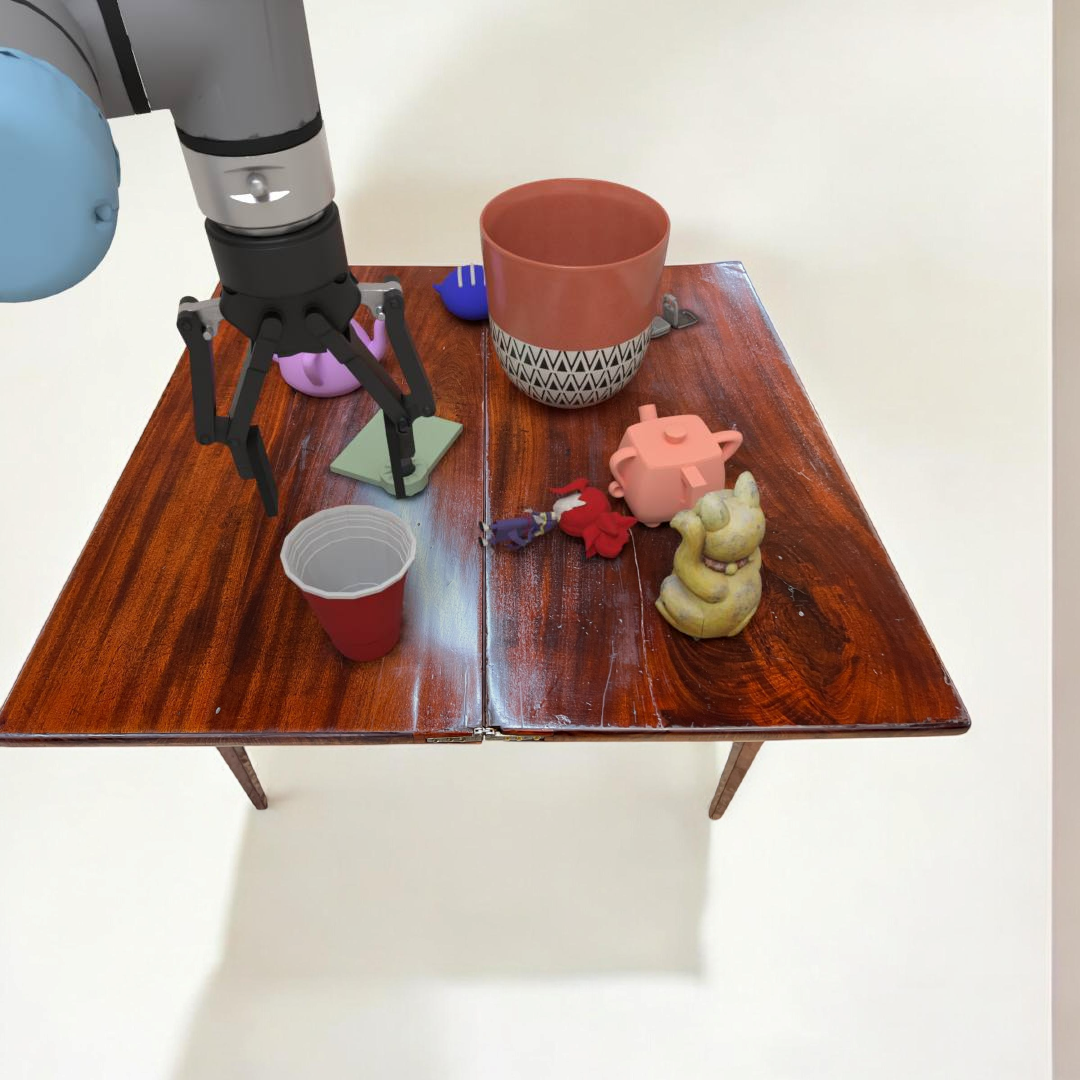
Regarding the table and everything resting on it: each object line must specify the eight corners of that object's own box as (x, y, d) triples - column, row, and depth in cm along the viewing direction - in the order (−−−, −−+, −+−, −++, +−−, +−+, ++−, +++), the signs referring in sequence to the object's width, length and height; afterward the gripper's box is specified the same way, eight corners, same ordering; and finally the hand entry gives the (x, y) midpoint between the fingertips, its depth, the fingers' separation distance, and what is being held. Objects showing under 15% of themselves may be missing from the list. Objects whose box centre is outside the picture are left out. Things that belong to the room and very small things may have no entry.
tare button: (407, 479, 88) (405, 468, 87) (390, 474, 89) (388, 463, 88) (416, 467, 90) (415, 456, 89) (400, 462, 90) (398, 451, 89)
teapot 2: (638, 449, 95) (645, 377, 88) (737, 488, 91) (753, 416, 84) (585, 511, 88) (589, 438, 81) (690, 556, 84) (704, 483, 77)
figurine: (471, 525, 86) (610, 496, 89) (493, 597, 82) (638, 564, 85) (472, 489, 80) (620, 459, 84) (495, 564, 76) (650, 530, 80)
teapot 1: (403, 376, 104) (394, 312, 98) (301, 421, 98) (285, 356, 92) (352, 333, 111) (341, 271, 104) (254, 373, 105) (236, 309, 98)
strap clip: (648, 341, 110) (651, 312, 107) (634, 329, 112) (637, 300, 109) (700, 322, 113) (705, 293, 110) (686, 311, 115) (690, 282, 112)
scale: (414, 507, 89) (412, 489, 87) (324, 478, 92) (320, 461, 90) (471, 432, 97) (470, 415, 95) (386, 408, 100) (384, 391, 98)
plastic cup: (453, 620, 79) (443, 529, 70) (377, 705, 72) (355, 617, 64) (362, 572, 82) (342, 481, 74) (283, 649, 76) (250, 559, 67)
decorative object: (438, 242, 114) (512, 255, 114) (436, 281, 118) (508, 293, 118) (424, 286, 107) (504, 300, 107) (423, 325, 111) (499, 338, 112)
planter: (526, 460, 94) (525, 284, 78) (463, 365, 106) (452, 196, 90) (680, 416, 99) (707, 243, 84) (603, 330, 111) (615, 165, 96)
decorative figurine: (708, 563, 83) (734, 446, 73) (777, 612, 79) (815, 495, 68) (641, 616, 79) (658, 499, 68) (710, 671, 75) (740, 555, 64)
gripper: (56, 258, 44) (186, 552, 61) (468, 220, 47) (485, 509, 64) (79, 194, 49) (193, 482, 66) (450, 163, 52) (470, 445, 69)
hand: (337, 495), depth 65 cm, fingers open, 9 cm apart
